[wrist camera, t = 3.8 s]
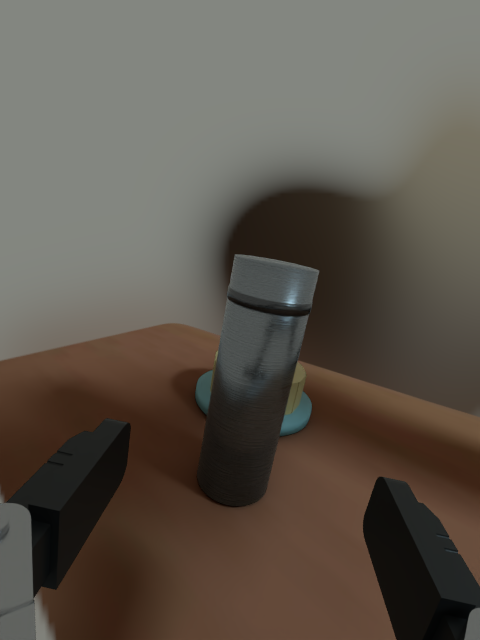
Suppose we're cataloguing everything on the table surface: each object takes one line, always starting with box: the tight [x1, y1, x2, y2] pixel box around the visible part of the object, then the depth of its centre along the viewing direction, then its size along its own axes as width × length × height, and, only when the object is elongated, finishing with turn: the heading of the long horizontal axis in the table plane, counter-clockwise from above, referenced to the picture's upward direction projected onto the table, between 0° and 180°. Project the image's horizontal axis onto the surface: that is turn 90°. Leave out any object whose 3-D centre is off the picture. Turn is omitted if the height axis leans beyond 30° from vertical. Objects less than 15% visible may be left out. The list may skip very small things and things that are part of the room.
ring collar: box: [195, 351, 312, 436], centre depth 31 cm, size 11×11×4 cm
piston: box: [197, 255, 319, 506], centre depth 20 cm, size 5×5×14 cm
